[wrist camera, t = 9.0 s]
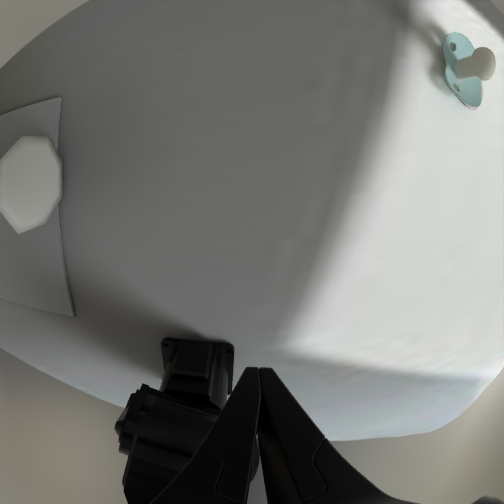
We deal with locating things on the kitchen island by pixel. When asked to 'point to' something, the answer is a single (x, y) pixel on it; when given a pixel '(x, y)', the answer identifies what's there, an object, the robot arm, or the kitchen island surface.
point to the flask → (30, 182)
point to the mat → (37, 239)
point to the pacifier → (467, 68)
